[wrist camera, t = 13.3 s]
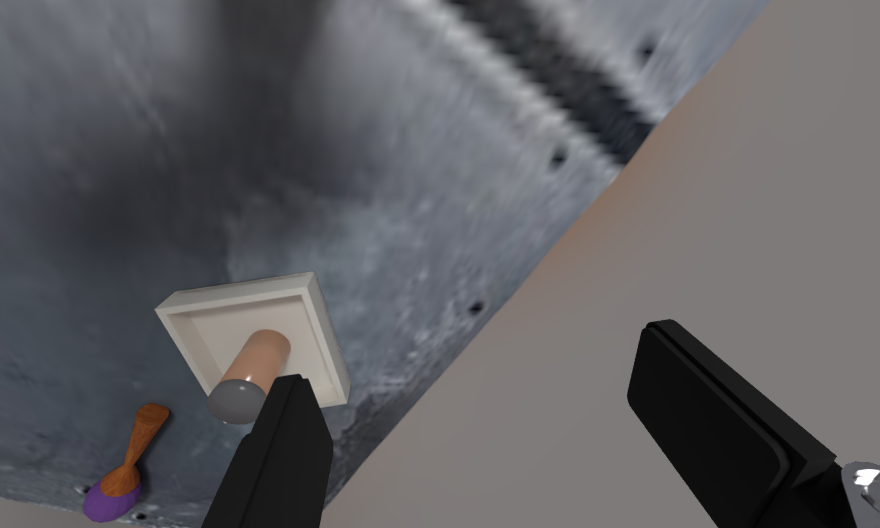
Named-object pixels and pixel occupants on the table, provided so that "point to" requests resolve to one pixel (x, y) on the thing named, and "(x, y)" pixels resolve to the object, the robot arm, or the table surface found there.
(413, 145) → the table surface
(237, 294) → the tray
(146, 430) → the brown purple handled piece
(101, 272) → the table surface
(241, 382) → the cylinder
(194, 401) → the table surface
